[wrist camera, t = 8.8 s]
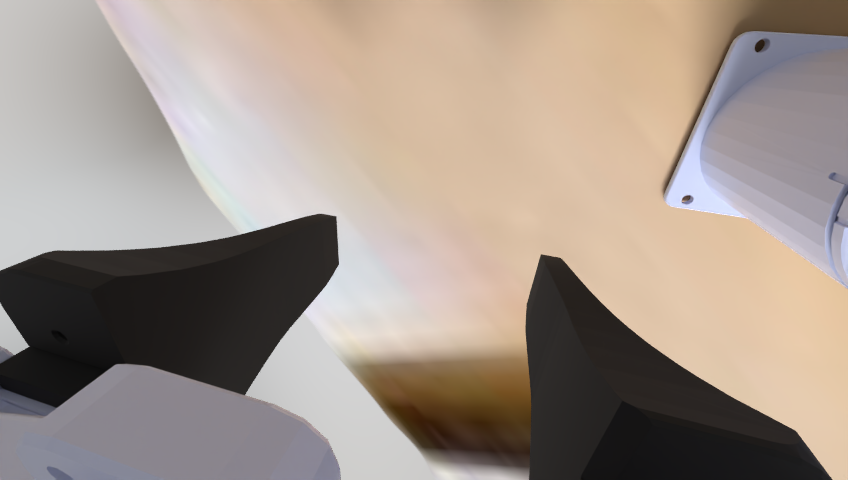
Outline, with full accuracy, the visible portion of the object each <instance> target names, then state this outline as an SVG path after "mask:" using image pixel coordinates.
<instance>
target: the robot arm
mask: <svg viewBox="0 0 848 480" xmlns="http://www.w3.org/2000/svg"><path fill="white" fill-rule="evenodd" d="M761 39H762V40H764V42H765V45H764V47H763V49H762V50H761V51H759V52H756V51H755V49H754V48H755V45H756V43H757V42H758V41H759V40H761ZM686 195H690V199H689V200H688V201H686V202H681V201H682V198H683V197H684V196H686ZM664 201H665V202H666V203H667V204H668V205H669V206H672V207H677V208H684V209H690V210H697V211H703V212H710V213H716V214H723V215H729V216H736V217H742V218H748V219H749V220H751V221H752V222H753V223H755V224H756V225H758V226H759V227H760V228H762V229H763V230H765V231H766V232H768V233H769V234H770V235H772V236H773V237H775V238H776V239H777V240H779V241H780V242H782V243H783V244H785V245H786V246H787V247H789V248H790V249H792V250H793V251H794V252H796V253H797V254H799V255H800V256H802V257H803V258H804V259H806V260H807V261H809V262H810V263H811V264H813V265H814V266H816V267H817V268H819V269H820V270H821V271H823V272H824V273H826V274H827V275H828V276H830V277H831V278H833V279H834V280H836V281H837V282H838V283H840V284H841V285H843V286H844V287H845V288H847V289H848V37H847V36H830V35H813V34H797V33H780V32H763V31H751V32H745V33H742V34H740V35H739V36H738V37H736V38H735V39H734V41H733V42H732V44H731V46H730V48H729V50H728V52H727V55H726V57H725V59H724V61H723V64H722V66H721V68H720V70H719V73H718V75H717V77H716V79H715V82H714V84H713V86H712V88H711V91H710V93H709V95H708V97H707V100H706V102H705V104H704V106H703V108H702V111H701V113H700V115H699V117H698V120H697V122H696V124H695V126H694V129H693V131H692V133H691V135H690V138H689V140H688V142H687V144H686V147H685V149H684V151H683V153H682V156H681V158H680V160H679V162H678V165H677V167H676V169H675V171H674V174H673V176H672V178H671V180H670V182H669V185H668V187H667V189H666V191H665V194H664ZM338 265H339V258H338V239H337V221H336V216H330V215H325V214H316V215H311V216H307V217H303V218H299V219H296V220H292V221H289V222H285V223H282V224H278V225H275V226H271V227H268V228H264V229H260V230H257V231H253V232H249V233H245V234H241V235H237V236H233V237H229V238H223V239H218V240H212V241H207V242H201V243H194V244H186V245H179V246H170V247H161V248H148V249H135V250H112V251H111V250H110V251H52V252H47V253H44V254H41V255H38V256H36V257H33V258H31V259H28V260H26V261H23V262H21V263H18V264H16V265H13V266H11V267H8V268H6V269H3V270H1V271H0V303H1V304H2V306H3V308H4V310H5V311H6V313H7V314H8V316H9V317H10V319H11V320H12V321H13V323H14V324H15V326H16V328H17V329H18V331H19V332H20V333H21V335H22V336H23V338H24V339H25V341H26V342H27V344H28V345H29V346H30V347H28V348H26V349H25V350H23V351H21V352H19V353H18V354H16V355H13V354H12V353H11V352H9V351H8V350H7V349H5V348H2V347H0V480H341V477H340V468H339V465H338V462H337V459H336V457H335V455H334V453H333V450H332V448H331V446H330V444H329V442H328V440H327V439H326V438H325V437H324V436H323V435H322V434H320V432H319V431H317V430H316V429H315V428H314V427H313V426H312V425H311V424H310V423H309V422H307V421H306V420H305V419H304V418H302V417H300V416H298V415H296V414H293V413H291V412H289V411H287V410H285V409H283V408H281V407H279V406H276V405H274V404H271V403H268V402H265V401H261V400H258V399H255V398H252V397H248V396H245V394H246V392H247V391H248V389H249V387H250V386H251V384H252V382H253V381H254V379H255V378H256V376H257V375H258V373H259V372H260V370H261V368H262V367H263V365H264V364H265V362H266V361H267V359H268V357H269V356H270V355H271V353H272V352H273V350H274V349H275V347H276V346H277V344H278V343H279V342H280V340H281V339H282V337H283V336H284V335H285V334H286V332H287V331H288V330H289V328H290V327H291V326H292V325H293V324H294V322H295V321H296V320H297V319H298V318H299V317H300V316H301V314H302V313H303V312H304V311H305V310H306V309H307V307H308V306H309V305H310V304H311V303H312V302H313V300H314V299H315V298H316V297H317V296H318V294H319V293H320V292H321V291H322V290H323V288H324V287H325V286H326V285H327V283H328V282H329V280H330V278H331V277H332V275H333V274H334V272H335V270H336V268H337V267H338ZM526 342H527V354H528V365H529V376H530V387H531V445H530V474H529V480H832V479H831V477H830V476H829V475H828V473H827V472H826V471H825V469H824V468H823V467H822V465H821V464H820V463H819V461H818V460H817V459H816V457H815V456H814V455H813V453H812V452H811V451H810V449H809V448H808V447H807V445H806V444H805V443H804V441H803V440H802V439H801V437H800V436H799V435H798V433H797V432H796V431H795V430H793V429H791V428H789V427H787V426H785V425H783V424H782V423H780V422H778V421H776V420H774V419H772V418H770V417H768V416H766V415H765V414H763V413H761V412H759V411H757V410H755V409H753V408H751V407H749V406H747V405H746V404H744V403H742V402H740V401H738V400H736V399H734V398H732V397H731V396H729V395H727V394H725V393H724V392H722V391H720V390H719V389H717V388H715V387H714V386H712V385H710V384H709V383H707V382H705V381H704V380H702V379H700V378H699V377H697V376H695V375H694V374H692V373H691V372H689V371H688V370H686V369H684V368H683V367H681V366H680V365H678V364H677V363H675V362H674V361H672V360H671V359H670V358H668V357H667V356H665V355H664V354H662V353H661V352H660V351H658V350H657V349H655V348H654V347H652V346H651V345H650V344H648V343H647V342H646V341H644V340H643V339H642V338H641V337H639V336H638V335H637V334H636V333H635V332H633V331H632V330H631V329H630V328H628V327H627V326H626V325H625V324H624V323H622V322H621V321H620V320H619V319H618V318H617V317H616V316H615V315H613V314H612V313H611V312H610V311H609V310H608V309H607V308H606V307H605V306H604V305H603V304H602V303H601V302H600V301H599V300H598V299H597V298H596V297H595V296H594V295H593V294H592V293H591V292H590V291H589V289H588V288H587V287H586V286H585V285H584V284H583V283H582V282H581V280H580V279H579V278H578V277H577V276H576V275H575V274H574V272H573V271H572V270H571V269H570V268H569V267H568V265H567V264H566V263H565V262H564V261H563V260H562V259H561V258H558V257H552V256H547V255H541V256H540V260H539V263H538V267H537V270H536V274H535V277H534V281H533V284H532V288H531V292H530V295H529V299H528V302H527V311H526Z"/></svg>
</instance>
